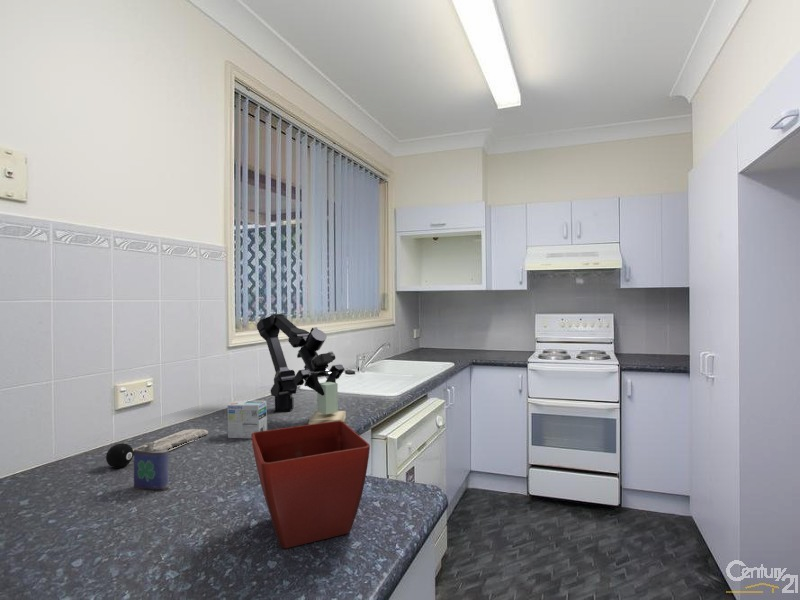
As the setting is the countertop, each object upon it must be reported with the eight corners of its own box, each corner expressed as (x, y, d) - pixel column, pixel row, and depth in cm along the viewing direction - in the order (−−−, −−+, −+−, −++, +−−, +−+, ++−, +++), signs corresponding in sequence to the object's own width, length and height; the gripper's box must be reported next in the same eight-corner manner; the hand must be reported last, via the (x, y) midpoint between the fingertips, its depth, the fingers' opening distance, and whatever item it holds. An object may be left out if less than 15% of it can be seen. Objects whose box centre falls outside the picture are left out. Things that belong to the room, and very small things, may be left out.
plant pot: (263, 566, 73) (261, 462, 73) (251, 515, 90) (250, 431, 90) (373, 539, 80) (371, 445, 80) (343, 496, 98) (342, 420, 98)
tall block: (317, 412, 156) (317, 383, 156) (329, 409, 160) (329, 381, 160) (326, 414, 153) (325, 385, 153) (337, 411, 156) (337, 383, 156)
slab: (308, 429, 150) (308, 420, 150) (315, 419, 162) (315, 411, 162) (341, 428, 150) (341, 419, 150) (345, 419, 162) (345, 410, 162)
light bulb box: (267, 432, 147) (267, 400, 147) (259, 439, 140) (258, 404, 140) (236, 432, 148) (236, 399, 148) (227, 438, 141) (226, 404, 141)
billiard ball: (120, 471, 115) (120, 448, 115) (100, 470, 116) (100, 447, 116) (138, 463, 121) (138, 441, 121) (119, 462, 122) (119, 440, 122)
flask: (171, 487, 104) (170, 441, 104) (161, 492, 102) (160, 445, 101) (139, 483, 107) (139, 439, 107) (129, 488, 104) (128, 442, 104)
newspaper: (157, 459, 125) (156, 450, 125) (124, 459, 129) (123, 451, 129) (214, 435, 146) (214, 427, 146) (185, 436, 150) (184, 428, 150)
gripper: (297, 346, 152) (316, 383, 145) (341, 342, 166) (360, 375, 158) (285, 367, 158) (303, 403, 150) (328, 361, 171) (347, 394, 163)
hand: (329, 393), depth 155 cm, fingers closed on tall block, 5 cm apart
